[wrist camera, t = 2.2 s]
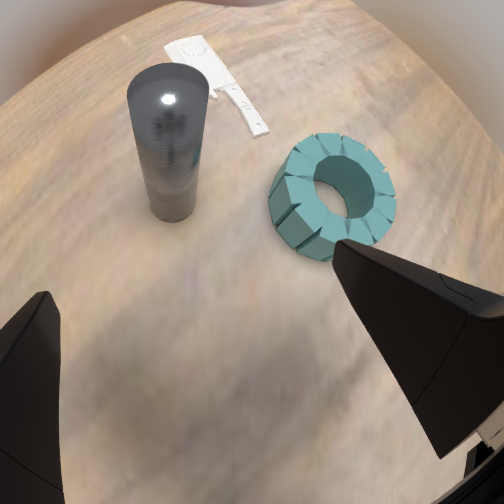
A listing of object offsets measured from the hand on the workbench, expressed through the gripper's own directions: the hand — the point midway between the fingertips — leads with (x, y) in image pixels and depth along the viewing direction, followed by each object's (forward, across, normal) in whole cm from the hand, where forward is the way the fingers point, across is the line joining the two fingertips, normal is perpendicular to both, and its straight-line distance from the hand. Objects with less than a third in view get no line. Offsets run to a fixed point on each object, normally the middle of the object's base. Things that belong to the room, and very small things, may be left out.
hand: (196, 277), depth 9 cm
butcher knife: (+24, -5, -4) cm, 25 cm away
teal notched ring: (+14, -12, +5) cm, 19 cm away
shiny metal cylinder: (+15, 0, +4) cm, 16 cm away
